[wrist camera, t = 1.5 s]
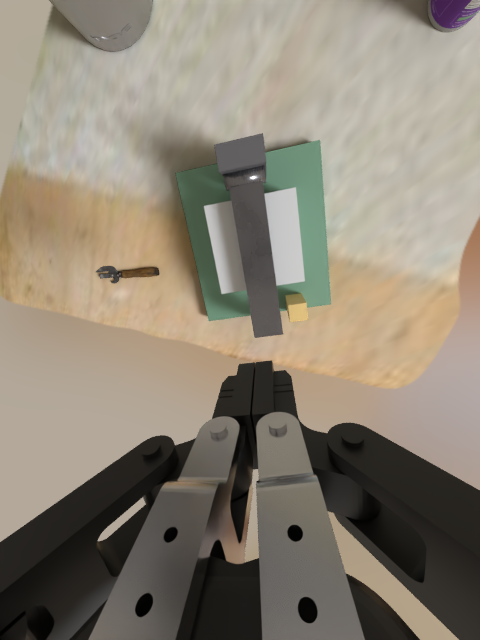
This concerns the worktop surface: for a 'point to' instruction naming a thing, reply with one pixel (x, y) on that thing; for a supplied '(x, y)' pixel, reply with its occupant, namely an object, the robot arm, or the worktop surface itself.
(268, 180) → the cpu board
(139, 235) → the worktop surface
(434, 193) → the worktop surface
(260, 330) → the strap
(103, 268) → the can opener
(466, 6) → the container
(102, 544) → the robot arm
